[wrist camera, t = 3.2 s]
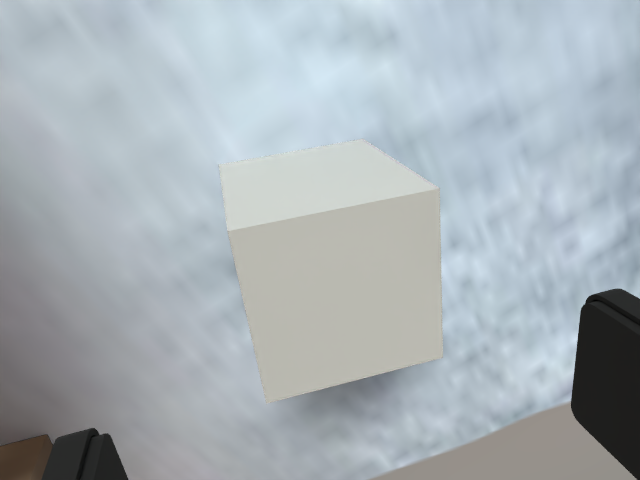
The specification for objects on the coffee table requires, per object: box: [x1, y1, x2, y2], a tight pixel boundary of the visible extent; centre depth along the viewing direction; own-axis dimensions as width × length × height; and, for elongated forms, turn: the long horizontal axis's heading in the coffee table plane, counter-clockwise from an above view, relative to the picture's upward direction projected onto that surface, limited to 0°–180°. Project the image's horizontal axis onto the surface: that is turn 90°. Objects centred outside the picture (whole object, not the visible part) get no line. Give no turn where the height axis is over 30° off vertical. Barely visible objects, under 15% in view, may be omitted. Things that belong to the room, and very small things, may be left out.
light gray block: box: [219, 139, 443, 404], centre depth 15 cm, size 5×5×6 cm
